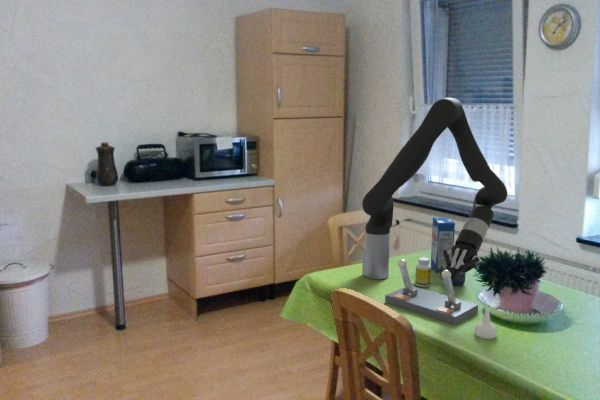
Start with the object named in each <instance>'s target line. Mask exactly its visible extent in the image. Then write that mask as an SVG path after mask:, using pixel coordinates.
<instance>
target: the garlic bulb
mask: <svg viewBox="0 0 600 400" xmlns="http://www.w3.org/2000/svg"><path fill="white" fill-rule="evenodd" d="M490 314H491V313H490V309H487V308H486V309H485V312H484V314H483V315H484V316H483V319H482V321H479V322H477V323H476V324H475V326H474V328H473V329H474V330H473V331H474V334H475V336H476V337H478V338H480V339H484V340H492V339H495V338H497V335H498V330H497V327H496V326H495V324H494V323H492V321H491V317H490V316H491V315H490Z"/></svg>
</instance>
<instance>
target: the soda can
mask: <svg viewBox="0 0 600 400" xmlns="http://www.w3.org/2000/svg"><path fill="white" fill-rule="evenodd" d="M452 259H453V255H452V254H451V258H450V260H451V263H452ZM446 270H450V269H449V267H448V266H447V264H446ZM466 274H467V272H466V273H465V272H461V273H460V274H459V276H458V278H457V280H456V281H454V282H452V286H453V287H463V285H464V284H465V282H466Z"/></svg>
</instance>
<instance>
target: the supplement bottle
mask: <svg viewBox="0 0 600 400" xmlns="http://www.w3.org/2000/svg"><path fill="white" fill-rule="evenodd" d="M431 272H432V266H431V264H430V258H429V257H424V256H422V257H418V259H417V264H416V265H415V277H414V278H415V279H414V284H415V285H416V286H417V287H420V288H424V287H427V288H428V287H429V286H430V285H431V276H432V273H431Z"/></svg>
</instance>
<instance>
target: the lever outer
mask: <svg viewBox="0 0 600 400" xmlns="http://www.w3.org/2000/svg"><path fill="white" fill-rule="evenodd" d="M441 277H442V279H443V284H444V287H445V292H446V296H447V298H448V302H449V305H452V306H454V303H455V302H456V300H455V298H456V295H455V291H454V286H452V281H451V272H450V271H449V270H444V271H443V272H442V273H441Z"/></svg>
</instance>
